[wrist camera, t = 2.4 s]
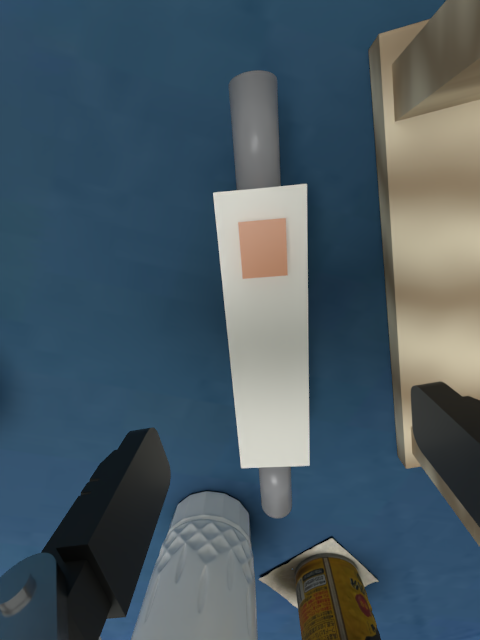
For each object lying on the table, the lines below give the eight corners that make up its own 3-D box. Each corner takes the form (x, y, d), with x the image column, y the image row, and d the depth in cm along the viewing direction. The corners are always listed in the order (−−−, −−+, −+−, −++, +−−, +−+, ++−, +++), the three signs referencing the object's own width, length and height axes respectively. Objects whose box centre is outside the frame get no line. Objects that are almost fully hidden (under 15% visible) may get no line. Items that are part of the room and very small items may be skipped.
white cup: (273, 532, 25) (287, 721, 15) (199, 561, 26) (170, 750, 17) (225, 470, 23) (208, 643, 13) (149, 505, 24) (84, 683, 15)
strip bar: (216, 124, 16) (198, 68, 10) (288, 116, 15) (309, 54, 10) (247, 458, 23) (246, 528, 17) (297, 456, 22) (312, 527, 17)
